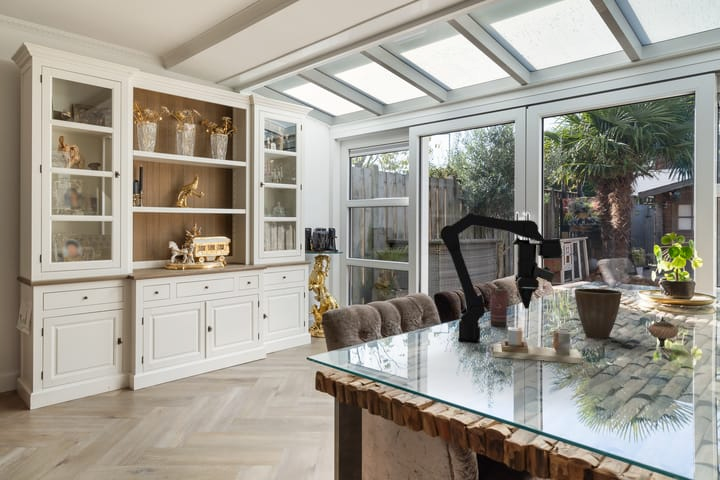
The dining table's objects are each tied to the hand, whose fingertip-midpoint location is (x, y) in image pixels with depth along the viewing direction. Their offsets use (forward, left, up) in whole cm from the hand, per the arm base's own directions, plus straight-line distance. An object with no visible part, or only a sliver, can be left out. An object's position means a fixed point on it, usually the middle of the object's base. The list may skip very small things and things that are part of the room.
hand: (525, 306), depth 159 cm
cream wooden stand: (+2, -16, -12) cm, 20 cm away
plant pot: (+25, +19, -12) cm, 34 cm away
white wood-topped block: (-4, -16, -10) cm, 20 cm away
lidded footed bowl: (+42, +7, -12) cm, 44 cm away
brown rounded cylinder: (-8, +28, -12) cm, 32 cm away
